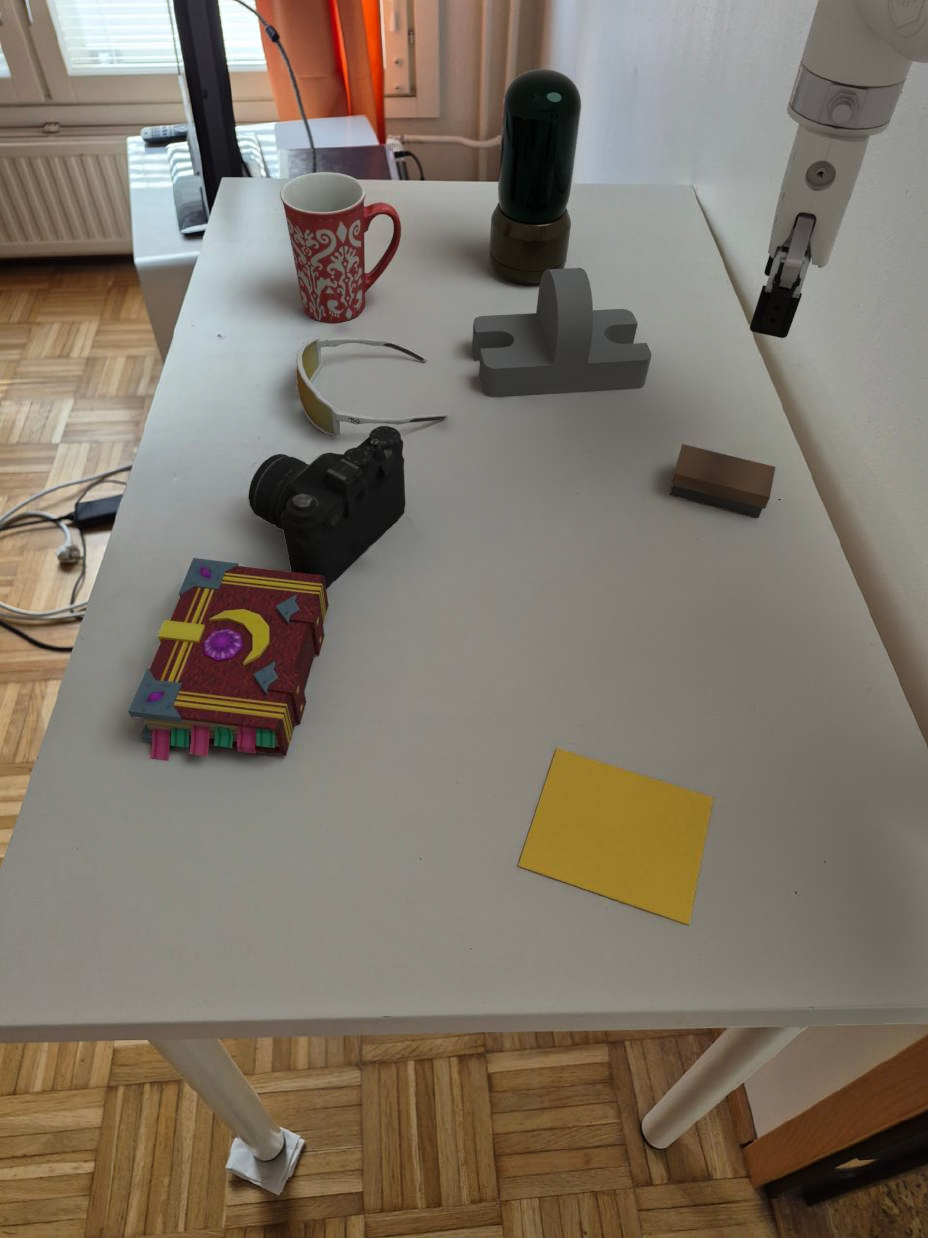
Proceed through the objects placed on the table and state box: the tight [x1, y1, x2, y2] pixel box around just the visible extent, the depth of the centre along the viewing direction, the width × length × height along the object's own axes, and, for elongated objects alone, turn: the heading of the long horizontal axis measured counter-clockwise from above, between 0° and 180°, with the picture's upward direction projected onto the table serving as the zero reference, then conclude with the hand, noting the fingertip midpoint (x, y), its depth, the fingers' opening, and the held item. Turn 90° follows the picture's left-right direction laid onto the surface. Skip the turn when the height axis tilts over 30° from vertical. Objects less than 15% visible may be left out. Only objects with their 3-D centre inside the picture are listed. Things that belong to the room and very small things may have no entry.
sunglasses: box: [295, 336, 450, 438], centre depth 92 cm, size 14×15×5 cm
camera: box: [248, 425, 407, 590], centre depth 77 cm, size 14×11×10 cm
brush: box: [669, 443, 776, 519], centre depth 85 cm, size 9×4×3 cm, turn 71°
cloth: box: [517, 747, 714, 926], centre depth 63 cm, size 12×10×1 cm
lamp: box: [488, 68, 582, 285], centre depth 102 cm, size 10×10×22 cm
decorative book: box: [127, 557, 329, 761], centre depth 69 cm, size 11×16×5 cm
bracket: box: [471, 267, 652, 398], centre depth 94 cm, size 10×18×11 cm, turn 98°
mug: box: [279, 171, 402, 324], centre depth 99 cm, size 13×9×14 cm
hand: (774, 304), depth 79 cm, fingers open, 9 cm apart
